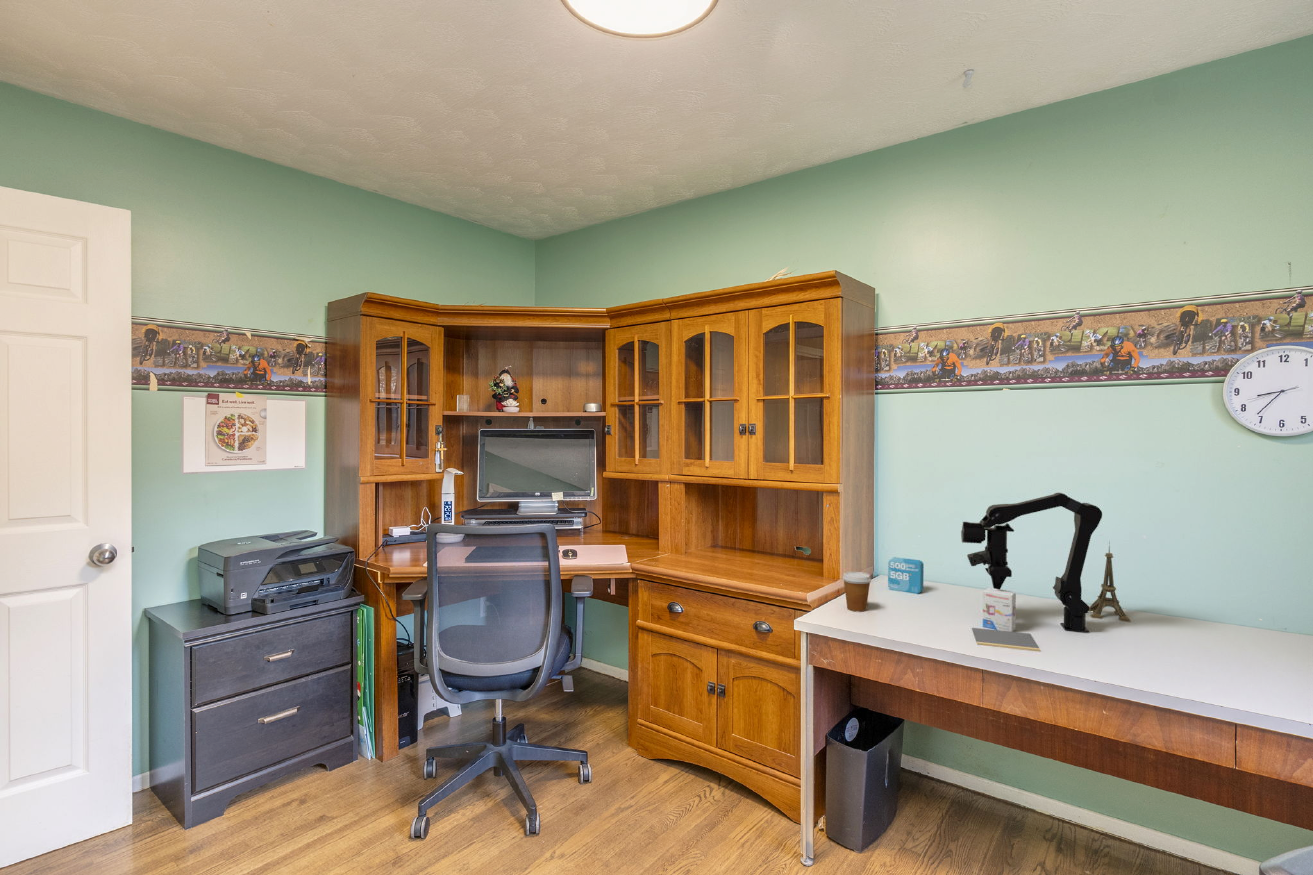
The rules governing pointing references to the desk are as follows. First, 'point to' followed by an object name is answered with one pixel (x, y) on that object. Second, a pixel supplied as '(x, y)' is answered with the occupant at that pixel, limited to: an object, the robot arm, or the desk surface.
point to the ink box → (999, 609)
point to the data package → (905, 575)
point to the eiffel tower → (1102, 598)
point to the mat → (1005, 639)
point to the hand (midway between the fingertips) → (996, 592)
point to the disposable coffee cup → (856, 590)
